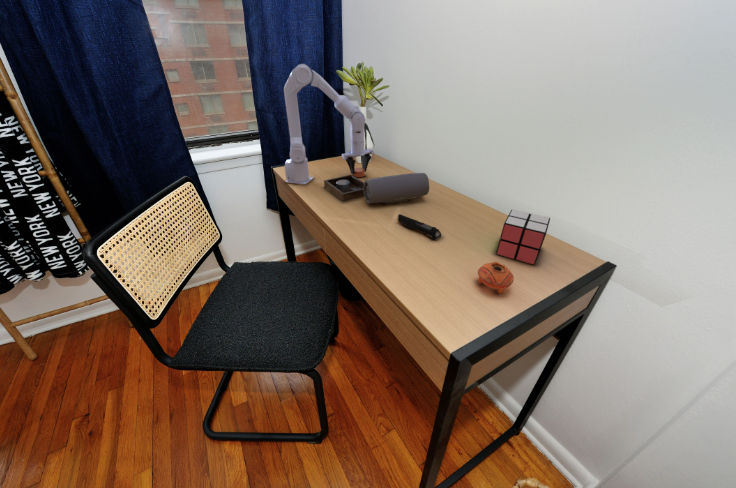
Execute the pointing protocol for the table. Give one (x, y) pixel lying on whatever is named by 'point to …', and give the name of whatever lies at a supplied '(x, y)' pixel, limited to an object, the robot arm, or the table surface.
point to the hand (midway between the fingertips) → (358, 172)
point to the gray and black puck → (343, 184)
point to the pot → (495, 276)
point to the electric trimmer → (420, 226)
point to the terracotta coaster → (359, 172)
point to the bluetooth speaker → (396, 188)
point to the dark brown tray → (349, 194)
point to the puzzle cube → (523, 236)
